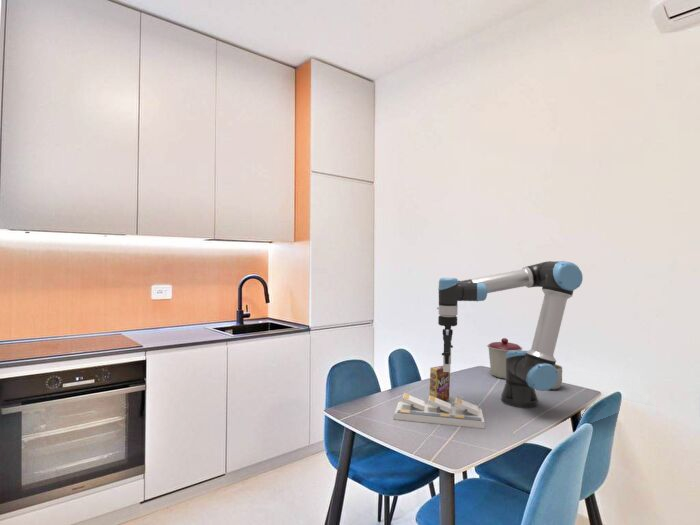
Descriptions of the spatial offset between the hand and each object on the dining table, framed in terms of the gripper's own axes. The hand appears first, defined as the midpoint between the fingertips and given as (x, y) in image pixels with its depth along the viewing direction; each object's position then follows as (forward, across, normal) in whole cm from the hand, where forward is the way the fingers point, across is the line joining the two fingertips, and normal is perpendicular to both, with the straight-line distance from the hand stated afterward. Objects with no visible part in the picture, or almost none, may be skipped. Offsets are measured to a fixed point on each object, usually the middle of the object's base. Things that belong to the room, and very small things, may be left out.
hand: (447, 367), depth 168 cm
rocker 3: (+15, +2, +7) cm, 17 cm away
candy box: (+20, -17, -4) cm, 26 cm away
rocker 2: (+15, +2, -3) cm, 15 cm away
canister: (+20, -68, +29) cm, 76 cm away
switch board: (+20, +3, -3) cm, 20 cm away
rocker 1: (+15, +2, -14) cm, 20 cm away
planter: (+20, -53, +48) cm, 75 cm away
